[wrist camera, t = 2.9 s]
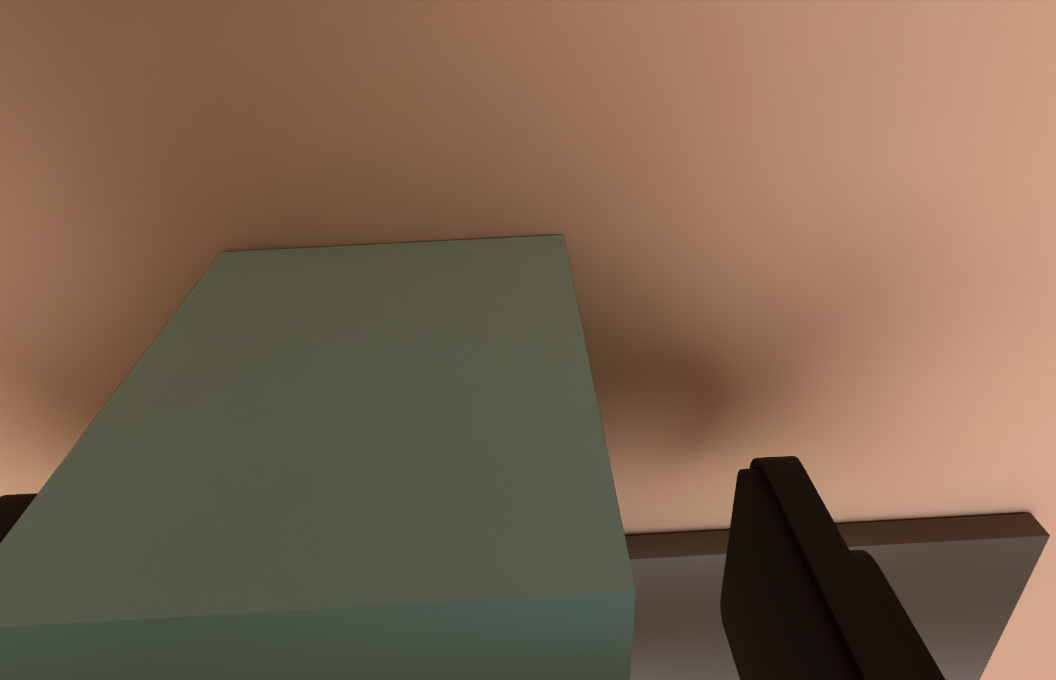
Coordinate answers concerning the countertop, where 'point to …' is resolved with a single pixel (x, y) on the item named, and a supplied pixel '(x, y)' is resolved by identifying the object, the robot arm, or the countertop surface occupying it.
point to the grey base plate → (897, 546)
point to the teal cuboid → (338, 484)
